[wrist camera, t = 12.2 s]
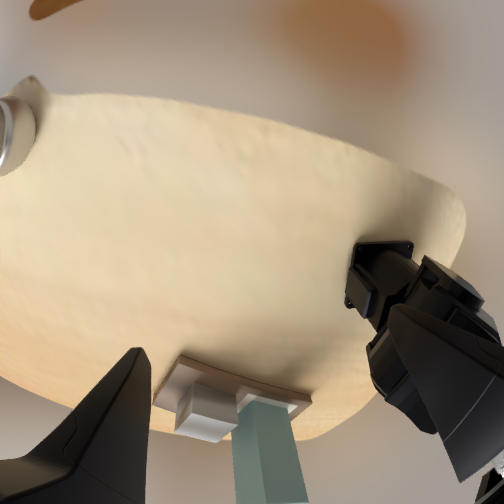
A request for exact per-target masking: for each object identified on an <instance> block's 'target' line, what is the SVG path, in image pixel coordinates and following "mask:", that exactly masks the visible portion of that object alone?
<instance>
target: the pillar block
mask: <svg viewBox="0 0 504 504" xmlns="http://www.w3.org/2000/svg"><path fill="white" fill-rule="evenodd" d="M237 417H238V426H236V427H235V428H234V429H233V430H232V431H231V436H232V450H233V466H234V478H235V490H236V503H237V504H306V503H308V502H309V501H308V497H307V492H306V488H305V484H304V479H303V475H302V471H301V466H300V462H299V458H298V453H297V449H296V444H295V440H294V436H293V431H292V427H291V423H290V418H289V414H288V410H287V408H282V407H278V406H274V405H270V404H266V403H262V402H258V401H255V400H252V401H251V402H250V403H248V404H247V405H246V406H245V407H244V408H243V409H242V410H241V411H240V412H238V413H237Z"/></svg>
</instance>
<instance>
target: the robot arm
mask: <svg viewBox="0 0 504 504" xmlns="http://www.w3.org/2000/svg"><path fill="white" fill-rule="evenodd" d="M409 245H410V246H409ZM408 246H409V247H408ZM359 247H361V249H360V250H359V251H358V248H359ZM413 248H414V244H413V243H412V242H411V241H387V242H362V243H357V244H355V245H354V248H353V254H352V261H351V266H350V268H349V270H348V276H347V283H346V289H345V293H346V297H345V306H346V307H347V308H348V309H351V308H356V309H357V310H358V312H359V313H360V315H361V316H362V317H363V318H364V319H366V318H367V319H368V320H369V322H370V323H371V325H372V326H373V327H374V329H375V330H376V332H377V334H376V336H375V337H374V339H373V340H372V341H371V342H369V343H368V345H367V346H366V351H367V356H368V362H369V367H370V373H371V374H370V375H371V379H372V382H373V384H374V387H375V389H376V390H377V391H378V392H379V393H380V394H381V395H382V396H383V397H384V399H385V401H386V402H388V403H389V404H391V405H393V406H395V407H396V408H398V409H399V410H400V411H402V412H403V413H404V414H406V416H407V417H408V418H410V420H411V421H412V422H413V423H414V424H415V425H416V426H417V427H418V428H419V430H421V431H423V432H426V433H429V434H436V433H437V432H438V433H439V435H440V437H441V439H442V442H444V443H443V444H444V447H445V449H446V451H447V453H448V456H449V458H450V460H451V463H452V465H453V468H454V470H455V473H456V476H457V478H458V481H459V482H460V483H462V482H463V481H465V480H466V479H467V478H469V477H470V476H472V475H473V474H474V473H476V472H477V471H478V470H480V469H481V468H482V467H484V466H485V465H486V464H488V463H489V462H490V461H491V462H492V464H493V466H494V467H493V468H492V469H491V470H490V471H488V472H487V473H486V474H485V475H484V476H482V481H481V484H480V487H479V490H478V494H477V497H476V500H475V502H476V503H475V504H504V347H503V346H502V344H501V340H500V337H499V333H498V330H497V327H496V324H495V321H494V319H493V318H492V317H491V316H490V315H488V314H487V313H486V312H485V311H484V310H483V309H481V307H482V305H483V303H484V302H485V300H484V299H483V298H482V297H481V296H480V294H479V293H478V292H477V291H476V289H475V288H474V287H473V286H472V285H471V284H469V283H468V282H467V281H466V280H464V279H463V278H462V277H460V276H459V275H458V274H456V273H455V272H453V271H452V270H450V269H448V268H447V267H445V266H443V265H442V264H440V263H438V262H436V261H435V260H433V259H431V258H429V257H428V256H426V255H424V257H423V259H422V263H421V265H420V266H419V265H418V264H416V263H415V262H414V261H413V260H411V257H412V253H413ZM350 302H351V303H350ZM349 303H350V304H349ZM150 413H151V364H150V362H149V359H148V357H147V355H146V353H145V351H144V349H143V348H142V347H133V348H131V349H129V350H128V352H127V353H126V354H125V355H124V356H123V357H122V358H121V359H120V360H119V361H118V362H117V363H116V364H115V365H114V366H113V367H112V369H111V370H110V371H109V372H108V373H107V374H106V375H105V376H104V377H103V378H102V379H101V380H100V381H99V382H98V384H97V385H96V386H95V387H94V388H93V389H92V390H91V391H90V392H89V393H88V394H87V395H86V397H85V398H84V399H83V400H82V401H81V402H80V403H79V404H78V405H77V406H76V407H75V409H74V410H73V411H72V412H71V413H70V414H69V415H68V416H67V417H66V418H65V419H64V420H63V421H62V422H61V424H60V425H59V426H58V427H57V428H55V429H54V431H52V432H51V433H50V434H49V435H48V436H47V437H46V438H45V439H44V440H43V441H41V442H40V443H39V444H38V445H37V446H36V447H35V448H34V449H33V450H31V451H30V452H29V453H28V454H26V455H25V456H22V457H20V458H15V459H6V460H0V504H145V485H146V463H147V447H148V433H149V423H150Z"/></svg>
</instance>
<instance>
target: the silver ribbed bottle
mask: <svg viewBox="0 0 504 504" xmlns="http://www.w3.org/2000/svg"><path fill="white" fill-rule="evenodd" d="M35 132H36V122H35V117H34V114H33V112H32V109H31V107H30V106H29V104H28V103H27V102H26V101H24V100H21V99H19V98H16V97H13V96H7V97H1V98H0V176H4V175H6V174H8V173H10V172H12V171H14V170H15V169H17V168H18V167H19V166H21V165H22V163H23V162H24V161H25V159H26V157H27V156H28V154H29V152H30V150H31V148H32V146H33V142H34V139H35Z"/></svg>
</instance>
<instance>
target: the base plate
mask: <svg viewBox="0 0 504 504" xmlns="http://www.w3.org/2000/svg"><path fill="white" fill-rule="evenodd" d="M252 400H255V401H258V402H262V403H266V404H270V405H274V406H278V407H282V408H287V410H288V414H289V418H290V421H292V420H293V419H294V418H295V417H297V416H298V415H299V414H300V413H301V412H303V411H304V410H305V409H306V408H307V407H309V406H310V405H311V404H312V399H311V396H309V395H305V394H300V393H296V392H292V391H288V390H284V389H281V388H277V387H273V386H270V385H266V384H263V383H259V382H256V381H253V380H249V379H246V378H243V377H240V376H237V375H234V374H231V373H228V372H225V371H222V370H219V369H216V368H213V367H210V366H208V365H205V364H202V363H200V362H197V361H194V360H192V359H189V358H187V357H184V356H182V355H180V356H179V357H178V359H177V360H176V362H175V364H174V365H173V367H172V368H171V370H170V372H169V373H168V375H167V376H166V378H165V380H164V381H163V383H162V384H161V386H160V388H159V389H158V391H157V392H156V394H155V396H154V397H153V403H152V405H154V406H157V407H160V408H162V409H165V410H168V411H171V412H174V413H176V420H175V430H174V432H175V433H179V434H182V435H186V436H190V437H193V438H197V439H201V440H205V441H210V442H214V443H217V442H218V441H219V440H221V439H222V438H223V437H224V436H226V435H227V434H228V433H229V432H230V431H232V430H233V429H234V428H235V427H236V426H238V417H237V413H238V412H240V411H241V410H242V409H243V408H244V407H245V406H246V405H247V404H248V403H250V402H251V401H252Z"/></svg>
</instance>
